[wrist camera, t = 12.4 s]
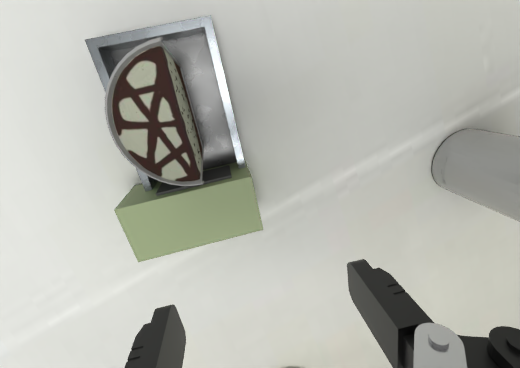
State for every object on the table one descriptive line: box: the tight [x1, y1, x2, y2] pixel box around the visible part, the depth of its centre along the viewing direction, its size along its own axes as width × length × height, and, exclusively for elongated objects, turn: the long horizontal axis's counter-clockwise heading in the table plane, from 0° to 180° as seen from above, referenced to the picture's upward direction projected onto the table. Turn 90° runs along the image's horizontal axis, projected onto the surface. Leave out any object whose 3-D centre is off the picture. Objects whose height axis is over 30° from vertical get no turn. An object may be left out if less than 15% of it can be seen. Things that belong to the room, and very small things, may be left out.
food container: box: [105, 37, 204, 186], centre depth 25 cm, size 12×6×10 cm, turn 11°
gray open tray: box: [85, 15, 246, 192], centre depth 28 cm, size 12×15×4 cm
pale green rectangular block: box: [114, 159, 263, 262], centre depth 31 cm, size 14×7×7 cm, turn 101°
